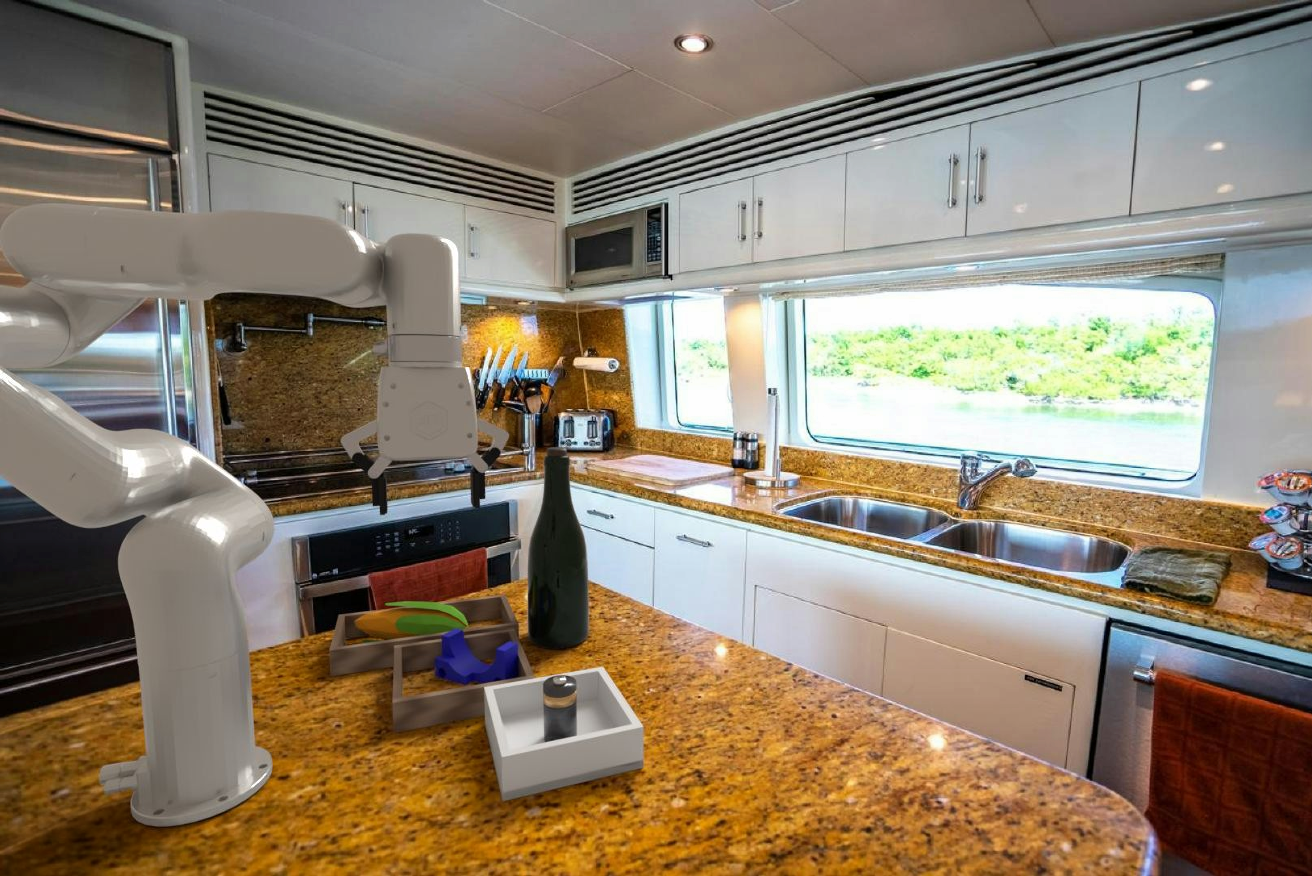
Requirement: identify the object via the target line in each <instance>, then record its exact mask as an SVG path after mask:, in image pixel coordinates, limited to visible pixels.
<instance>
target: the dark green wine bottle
mask: <svg viewBox="0 0 1312 876" xmlns="http://www.w3.org/2000/svg"><path fill="white" fill-rule="evenodd" d="M545 452H546V454H545V455H544V456H543V461H542V463H543V493H542V494H543V495H542V500H541V501H542V502H541V505H540V510H539V512H538V516H537V520H536V521H535V525H534V527H533V530H532V532H531V535H530V537H529V538H530V539H529V544H528V551H527V583H526V584H527V595H526V596H527V599H526V600H527V601H526V602H527V604H526V605H527V606H526V607H527V613H526V614H527V615H526V617H527V618H526V619H527V620H526V623H527V637H528V639H529V641H530V642H531V643H532V644H533V645H536V646H538V647H540V648H544V649H551V650H552V649H553V650H554V649H566V648H569V647H574V646H577V645H578V644H581V643H583V642H585V640H586V639H587V638H588V636H589V634H590V604H589V603H590V602H589V594H590V593H589V568H588V566H589V565H588V564H589V563H588V562H589V561H588V549H587V543H586V538H585V534H584V531H583V529H582V527H581V524H580V521H579V519H578V518H579V517H578V516H577V513H576V511H575V507H574V503H573V500H572V498H573V497H572V494H571V493H572V492H571V480H570V479H571V477H570V475H571V473H570V468H571V467H570V466H571V459H570V456H569V455H568V453H567V452H568V451H567V448H566V447H560V446H559V447H558V446H555V447H554V446H553V447H548V448H546V451H545Z"/></svg>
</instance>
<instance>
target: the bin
mask: <svg viewBox="0 0 1312 876" xmlns="http://www.w3.org/2000/svg"><path fill="white" fill-rule="evenodd" d="M557 675H567V676H571V677H573V678H574V679H575V680H576V687H577V736H573V737H569V738H564V739H559V740H555V741H550V742H545V741H544V709H543V683H544V681H545V680H546V679H548V678H550V677H553V676H557ZM484 704H485V716H484V725H485V729H486V735H487V739H488V742H489V743H488V744H489V747H490V751H491V756H492V760H493V765H494V769H495V774H496V777H497V783H498V788H499V790H500V796H501V799H502V802H506V801H510V800H515V799H517V798H518V799H519V798H523V797H527V796H531V795H535V794H536V795H537V794H539V793H545V792H548V791H552V790H556V789H560V788H564V787H568V786H572V785H576V784H580V783H581V784H582V783H585V782H589V781H594V780H598V779H602V778H606V777H609V776H615V775H618V774H622V773H627V772H632V771H635V770H640V769H643V768H644V738H645V737H644V732H645V731H644V729H645V728H644V725H643V724H642V722H641V721H640V720H639V718H638V716H637V715H636V714H635V712H634V711H633V709H632V707H631V706H630V705H629V703H628V702H627V700H626V699H625V697H624V696H623V694H622V693H621V691H620V689H619V688H618V687H617V686H616V684H615V682H614V681H613V679H612V677H610V675H609V673H608V672H607V670H606V669H605V667H604V666H599V667H598V666H597V667H593V668H588V669H581V670H575V671H569V672H564V673H563V672H562V673H559V674H554V675H545V676H542V677H541V676H540V677H537V678H536V677H535V678H534V679H529V680H523V681H517V682H511V683H505V684H500V685H494V686H488V687H484Z"/></svg>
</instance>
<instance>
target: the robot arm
mask: <svg viewBox="0 0 1312 876" xmlns="http://www.w3.org/2000/svg"><path fill="white" fill-rule="evenodd" d="M0 250H1V252H2V254H3V256H4V258H5V259H6V261H7V262H8V263H9V265H10V266H11V267H12V268H13V269H14V270H15V271H16V272H17V273H18V274H19V275H20V276H22V277H24V278H25V279H27V280H28V281H29V282H28V283H27V284H25V285H24V286H22V287H18V286H17V287H15V286H12V285H10V286H9V285H4V284H0V479H2V480H4V481H5V482H7V483H8V484H10V485H11V486H12V487H14V488H16V489H17V490H18V491H19V492H21V493H22V494H23V495H26V496H27V497H28V498H30V499H31V500H32V501H34V502H35V503H37V504H38V505H39V506H41V507H43V508H44V509H45V510H46V511H48V512H50V513H51V514H53V515H54V516H56V517H57V518H58V519H60V520H62V521H64V522H66V523H67V524H69V525H73V526H76V527H79V528H85V529H97V528H103V527H109V526H113V525H117V524H120V523H123V522H125V521H128V520H131V519H134V518H137V517H140V516H142V515H144V516H145V517H144V518H143V519H141V520H140V521H139V522H137V523H136V524H135V525H134V526H132V528H131V529H130V531H128V533H127V534H126V536H125V538H124V539H123V541H122V543H121V545H120V548H119V551H118V557H117V566H118V567H117V568H118V573H119V577H120V581H121V583H122V587H123V591H124V592H125V595H126V599H127V602H128V605H129V609H130V613H131V617H132V621H133V622H132V623H133V629H134V635H135V636H134V637H135V644H136V653H137V654H136V656H137V664H138V673H139V684H140V696H141V707H142V718H143V719H142V721H143V731H144V743H145V753H146V754H145V755H141V756H139V757H138V758H137V760H132V761H127V762H126V761H122V762H116V763H111V764H106V765H103V766H102V767H101V769H100V771H99V775H98V781H99V783H98V784H99V785H100V786H104V787H103V794H104V795H106V796H107V795H112V794H116V793H122V792H124V791H128V790H132V791H133V793H132V796H131V798H130V813H131V815H132V817H133V819H135V821H137V822H138V823H141V824H142V825H145V826H152V827H173V826H175V827H176V826H182V825H186V824H191V823H196V822H198V821H199V822H200V821H202V820H206V819H209V818H212V817H214V816H217V815H218V814H221V813H224V812H225V811H228V810H230V809H232V808H234V807H236V806H238V805H239V804H241V803H243V802H244V801H246V800H247V799H249V798H250V797H251V796H253V795H254V794H256V793H257V791H259V790H260V789H261V788H262V787H263V786H264V785H265V784H266V782H267V781H268V780H269V778H271V774H272V771H273V757H272V755H271V753H270V752H269V751H268V750H266V749H265V748H264V747H260V746H258V745H256V741H255V739H256V738H255V725H254V724H255V723H254V710H253V709H254V708H253V693H252V680H251V677H252V676H251V662H250V660H251V659H250V648H249V647H250V646H249V645H250V644H249V639H248V637H249V635H248V626H247V625H248V622H247V617H246V610H245V608H244V604H243V601H242V598H241V597H240V593H239V591H238V588H237V585H236V580H235V574H236V573H237V572H239V570H241V569H243V568H244V567H246V566H247V565H249V564H250V563H252V562H253V561H255V560H256V559H257V558H258V557H260V556H261V555H262V554H263V553H264V552H266V550H267V548H268V547H269V546H270V544H271V542H272V540H273V538H274V534H275V521H274V516H273V513H272V512H271V509H270V508H269V507H268V505H267V504H266V503H265V501H264V500H263V499H262V498H261V497H260V496H259V495H258V494H257V493H256V492H254V491H253V490H252V489H251V488H249V487H248V486H247V485H245V484H244V483H243V482H241V481H240V480H239V479H238V478H237V477H235V476H234V475H232V473H230V472H228V471H227V470H225V469H224V468H223V467H222V466H220V465H219V464H217V462H215V461H213V460H212V459H211V458H209V457H208V456H207V455H206V454H205V453H203V452H202V451H200V450H199V449H197V448H196V447H195V446H193V445H192V444H190V443H189V442H187V441H186V440H184V439H183V438H180V437H178V436H176V435H174V434H171V433H169V432H166V431H162V430H158V429H153V428H152V429H151V428H134V429H126V430H125V429H124V430H118V431H117V430H109V429H106V428H104V427H102V426H100V425H98V424H97V423H95V422H93V421H92V420H90V419H88V418H87V417H85V416H84V415H82V414H81V413H80V412H78V411H77V410H75V409H74V408H73V407H72V406H71V405H69V404H68V403H67V402H66V401H64V400H63V399H62V398H60V397H59V396H57V395H56V394H54V393H53V392H51V391H49V390H47V389H46V388H44V387H41V386H39V385H37V384H35V383H33V382H31V381H28V380H27V379H24V378H23V377H21V376H19V375H16V374H15V373H13V372H11V371H10V370H8V369H41V368H42V369H43V368H49V367H51V366H56V365H60V364H61V363H64V362H66V361H69V360H70V359H73V358H74V357H75V356H77V355H79V354H80V353H81V352H83V351H84V350H85V349H86V348H88V347H89V346H90V345H92V344H93V343H95V342H96V341H97V340H99V338H100V337H102V336H103V335H104V334H106V333H107V332H108V331H109V330H111V329H113V328H114V327H115V326H116V325H117V324H119V323H120V322H121V321H122V320H123V319H125V318H126V317H127V316H129V315H130V314H131V313H132V312H134V311H135V310H136V309H137V308H138V307H139V306H141V305H142V304H143V303H144V302H145V301H146V300H147V299H149V298H150V299H151V298H152V299H165V300H180V301H181V300H182V301H193V302H194V301H196V302H197V301H208V300H212V299H213V298H214V297H215V296H216V295H218V294H224V293H255V294H256V293H257V294H273V295H288V296H303V297H312V298H314V297H315V298H319V299H323V300H326V301H331V302H333V303H335V304H337V305H338V304H339V305H341V306H345V307H349V308H370V307H379V306H386V325H387V331H386V332H387V339H384V340H383V341H382V340H381V341H380V342H374V341H373V343H372V345H373V347H372V348H373V349H372V350H373V356H381V357H385V358H386V359H388V366H381V368H380V373H379V378H378V379H379V380H378V385H377V408H376V410H377V412H376V419H374V420H372V421H370V422H368V423H366V424H364V425H362V426H361V427H358V428H356V429H354V430H352V431H351V432H349V433H346V434H344V435H343V436H342V437H341V438H340V443H341V445H342V447H343V448H344V450H345V451H346V453H347V455H348V457H349V458H350V459H351V461H352V463H353V464H354V465H356V466H357V467H358V468H360V469H361V470H362V471H363V472H364V473H366V474H367V475H368V477H369V478H371V494H372V495H371V499H372V507H379V516H385V515H386V514H388V509H389V507H388V506H389V505H388V482H387V480H388V479H387V478H388V477H387V475H385V470H386V469H387V467H388V466H389V465H391V463H392V462H393V461H397V462H398V461H400V462H401V461H425V460H426V461H427V460H451V459H462V458H465V459H466V460H467V461H468V462H469V463H470V464H471V465H472V469H471V470H470V471H469V479H470V482H469V483H470V486H469V487H470V504H471V505H472V508H474V509H480V508H481V500H486V472H487V471H488V470H489V468H490V467H491V466H492V465H493V464H494V463H495V462H496V461H497V460H498V459H499V458H500V456H501V454H502V452H503V450H504V448H505V446H506V444H507V441H508V440H509V438H510V434H509V432H507V431H506V430H504V429H503V428H500V427H498V426H496V425H493V424H491V423H489V422H487V421H485V420H483V419H480V418H478V417H477V416H478V415H477V405H476V403H477V402H476V396H475V388H474V382H473V376H472V372H471V368H470V367H466V366H463V344H462V342H463V341H462V311H461V305H462V304H461V271H460V270H461V267H460V266H461V264H460V253H459V249H458V247H457V245H456V244H455V243H454V242H453V241H452V240H451V239H447V238H446V237H443V236H440V235H436V234H429V233H428V234H427V233H417V232H416V233H413V232H412V233H410V232H409V233H408V232H407V233H400V234H396V235H392V236H391V237H390V238H389V239H388V240H387V241H386V242H382V241H376V240H373V239H370V238H368V237H365V236H364V235H362V234H361V233H359V231H357V230H355V229H354V228H352V227H350V226H349V225H347V224H346V223H343V222H341V221H338V220H336V219H332V218H327V217H323V216H317V215H310V214H302V213H301V214H300V213H299V214H298V213H288V212H287V213H286V212H276V211H274V212H273V211H263V210H262V211H261V210H253V209H252V210H251V209H250V210H246V209H229V210H228V209H227V210H225V209H224V210H218V211H202V212H201V211H200V212H196V213H188V212H171V211H162V210H160V211H158V210H142V209H131V208H121V207H109V206H99V205H97V206H96V205H87V204H86V205H84V204H75V203H74V204H73V203H72V204H71V203H57V202H51V203H49V202H48V203H44V202H43V203H37V204H36V203H35V204H31V205H27V206H23V207H22V208H19V209H17V210H15V211H14V212H12V213H11V214H9V215H8V217H6V218H5V219H4V221H3V223H2V224H1V226H0ZM478 431H479V432H481V433H484V435H488V436H490V437H492V439H493V440H492V443H491V444H490V446H489V448H488V449H487V450H486V451H485V452H484V453H483V454H482V455H481V456H480V455H479V454H478V452H477V451H478V445H479V435H478V433H479V432H478ZM375 434H377V435H376V437H377V447H378V453H379V455H378V457H376V458H375V460H373V459H372V458H371V457H369V456H368V455H367V454H365V453H364V451H363V450H362V449H361V446H360V445H359V443H360V442H361V441H363V440H365V439H367V438H369V437H371V436H373V435H375Z"/></svg>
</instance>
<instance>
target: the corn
mask: <svg viewBox="0 0 1312 876" xmlns="http://www.w3.org/2000/svg"><path fill="white" fill-rule="evenodd" d="M384 606H386V607H387V606H394V607H396V608H397V609H390V608H388V609H389V610H382V609H381V610H382V611H377V612H371V613H366V614H365V615H363V616H362V617H360V618H358V619H357V620H355V621H354V622H355V626H356V627H357V628H358V629H360V630H362V631H363V632H365V633H367V634H368V635H370V637H373V638H376V639H363V640H362V641H361V643H370V642H377V641H384V640H391V639H398V638H406V637H413V636H420V635H427V634H434V633H442V632H449V631H451V630H453V629H461V630H463V629H469V622H467V620H466V618H465V616H464V615H463V614H462V613H461V612H460V611H458V610H457V609H456V608H455V607H453V606H449V605H445V604H440V602H435V601H407V600H405V601H396V602H395V601H394V602H386V603H385V604H384ZM399 607H417V608H399ZM379 639H380V640H379Z"/></svg>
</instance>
